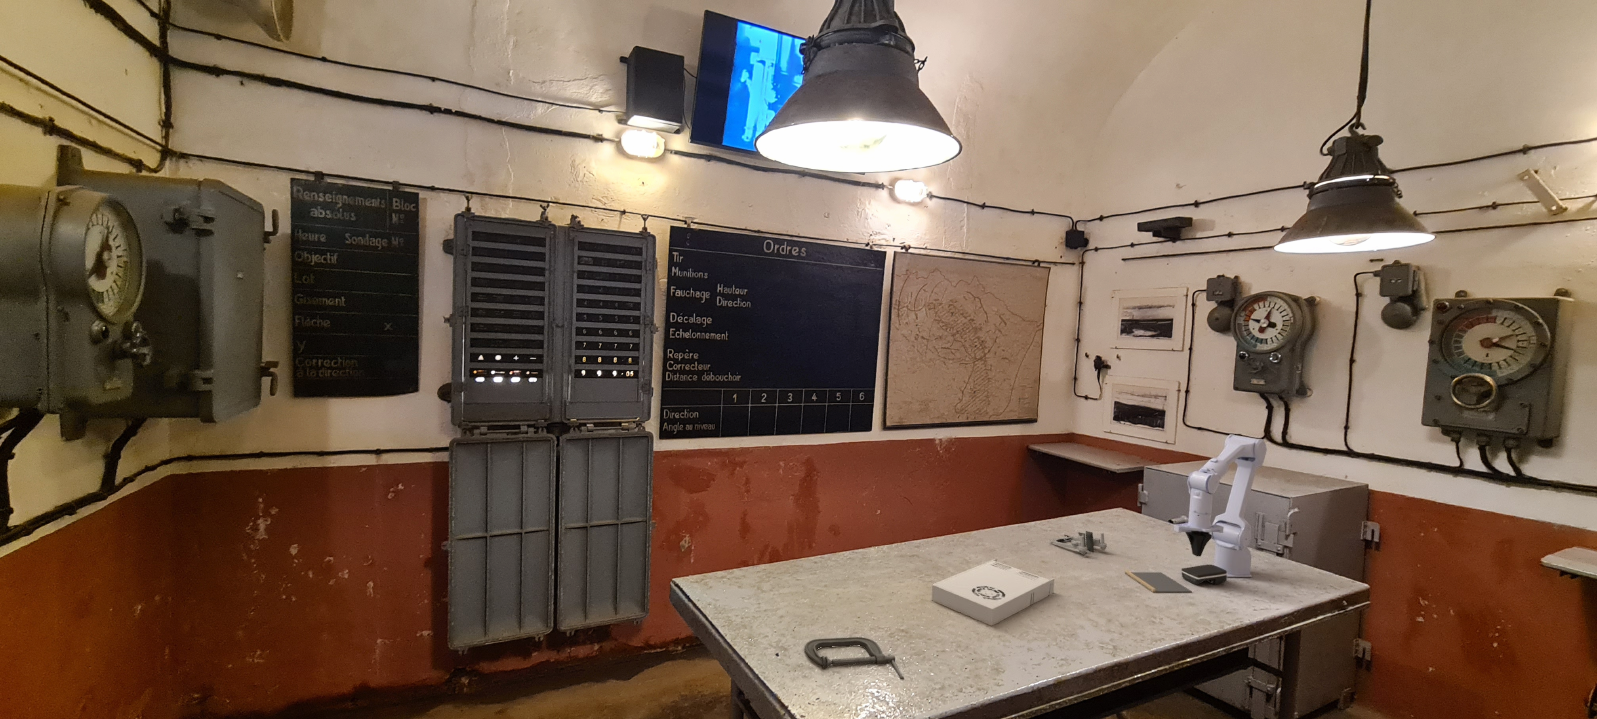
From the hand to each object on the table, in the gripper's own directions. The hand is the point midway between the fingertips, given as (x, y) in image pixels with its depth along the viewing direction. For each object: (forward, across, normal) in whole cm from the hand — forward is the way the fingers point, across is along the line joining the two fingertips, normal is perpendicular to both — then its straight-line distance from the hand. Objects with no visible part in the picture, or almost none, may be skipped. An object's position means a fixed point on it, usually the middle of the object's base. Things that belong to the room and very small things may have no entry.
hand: (1196, 555), depth 198 cm
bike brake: (+9, -22, +31) cm, 39 cm away
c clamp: (+9, -114, -42) cm, 121 cm away
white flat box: (+9, -67, -9) cm, 69 cm away
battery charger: (+7, -2, 0) cm, 8 cm away
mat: (+9, -12, 0) cm, 15 cm away
